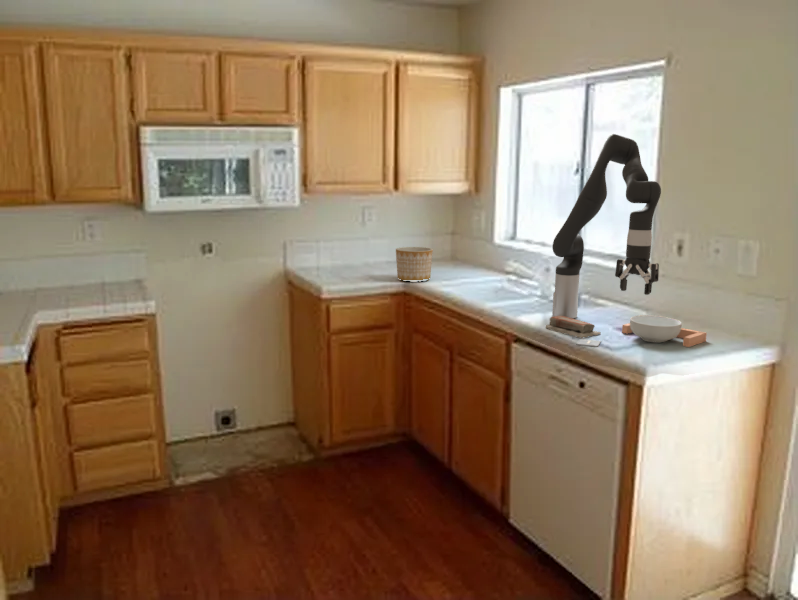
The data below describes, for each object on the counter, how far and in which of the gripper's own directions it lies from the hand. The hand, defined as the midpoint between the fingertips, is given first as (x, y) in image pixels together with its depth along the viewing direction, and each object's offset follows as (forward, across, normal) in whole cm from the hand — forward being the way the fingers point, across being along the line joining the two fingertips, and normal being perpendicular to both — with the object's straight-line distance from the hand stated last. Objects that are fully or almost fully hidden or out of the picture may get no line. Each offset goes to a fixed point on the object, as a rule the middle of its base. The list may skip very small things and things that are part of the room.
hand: (635, 292), depth 223 cm
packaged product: (+19, +25, -2) cm, 32 cm away
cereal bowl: (+19, 0, -14) cm, 23 cm away
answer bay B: (+18, 0, -20) cm, 27 cm away
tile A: (+18, +11, +8) cm, 23 cm away
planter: (+20, +146, -30) cm, 151 cm away
